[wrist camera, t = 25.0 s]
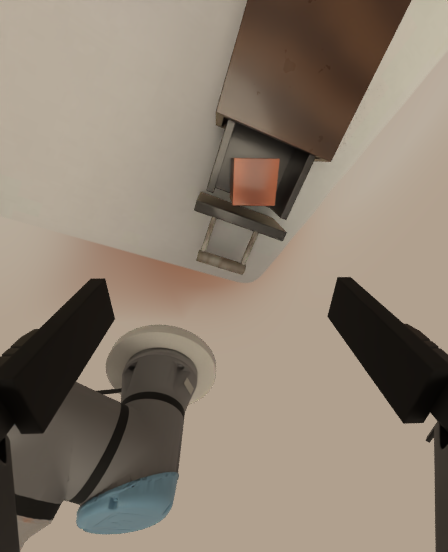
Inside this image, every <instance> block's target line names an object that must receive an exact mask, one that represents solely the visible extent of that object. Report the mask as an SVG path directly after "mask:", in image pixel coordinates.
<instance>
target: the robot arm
mask: <svg viewBox="0 0 448 552" xmlns="http://www.w3.org/2000/svg"><path fill="white" fill-rule="evenodd" d="M328 318H329V319H330V321H331V322H332V323H333V325H334V326H335V328H336V329H337V331H338V332H339V333H340V335H341V336H342V338H343V339H344V340H345V342H346V343H347V345H348V346H349V347H350V349H351V350H352V352H353V353H354V355H355V356H356V357H357V359H358V360H359V362H360V363H361V364H362V366H363V367H364V369H365V370H366V371H367V373H368V374H369V376H370V377H371V378H372V380H373V381H374V383H375V384H376V386H377V387H378V388H379V390H380V391H381V393H382V394H383V395H384V397H385V398H386V400H387V401H388V402H389V404H390V405H391V407H392V408H393V409H394V411H395V412H396V414H397V415H398V416H399V418H400V419H401V421H402V422H403V423H424V421H425V419H426V418H427V416H428V415H429V413H431V414H432V415H433V416H434V417H435V418H436V419H437V423H436V424H435V426H434V427H433V429H432V430H431V432H430V433H429V435H428V436H427V439H426V441H428V442H430V441H431V440H432V438H434V453H435V454H434V455H435V524H436V525H435V528H436V529H435V531H436V552H448V354H446V353H445V352H444V351H443V350H442V349H439V348H438V346H437V345H436V344H435V343H433V342H432V341H430V339H429V338H427V337H426V336H425V335H424V334H423V333H421V332H420V331H419V330H417V329H415V328H413V327H412V326H410V325H408V324H403V323H402V322H401V321H400V320H399V319H397V318H396V317H395V316H394V315H393V314H392V313H391V312H390V311H388V310H387V309H386V308H385V307H384V306H383V305H381V304H380V303H379V302H378V301H377V300H376V299H375V298H373V296H371V295H370V294H369V293H368V292H367V291H365V289H363V288H362V287H361V286H360V285H359V284H358V283H357V282H355V281H354V280H353V279H352V278H351V277H338V278H337V282H336V286H335V289H334V293H333V297H332V301H331V305H330V309H329V313H328ZM114 319H115V318H114V313H113V309H112V305H111V301H110V297H109V293H108V289H107V285H106V281H105V279H90V280H89V281H88V282H87V283H86V284H85V285H84V286H83V287H82V288H81V289H80V290H79V291H78V292H77V293H76V294H75V295H74V296H73V297H72V298H71V299H70V300H69V301H67V302H66V303H65V305H63V306H62V307H61V308H60V309H59V310H58V311H57V312H56V313H55V314H54V315H53V316H52V317H51V318H50V319H49V320H48V321H47V322H46V323H45V324H44V325H43V326H42V327H41V328H40V329H34V330H32V331H31V332H29V333H27V334H26V335H24V336H22V337H21V338H20V339H18V340H17V341H16V342H15V343H14V344H13V345H12V346H11V348H10V349H8V350H7V351H5V352H4V353H3V354H2V357H0V552H20V550H21V548H22V546H23V545H24V543H25V542H26V541H27V540H28V538H29V537H31V536H32V535H34V534H35V533H37V532H38V531H40V530H41V529H43V528H44V527H46V526H47V525H49V524H50V523H51V521H52V520H53V518H54V516H55V514H56V513H57V510H58V509H59V507H60V505H61V503H62V502H63V500H65V501H69V502H73V503H76V504H79V505H80V507H79V509H78V512H77V520H76V521H77V526H78V527H79V528H81V529H83V530H84V531H86V532H90V533H95V534H121V533H128V532H133V531H138V530H142V529H145V528H147V527H150V526H152V525H155V524H156V523H158V522H160V521H161V520H162V519H163V518H165V517H166V515H167V514H168V513H169V511H170V509H171V507H172V504H173V500H174V495H175V490H176V484H177V480H178V477H179V474H178V468H179V458H180V450H181V441H182V432H183V424H184V415H185V411H186V408H187V406H188V404H189V402H190V400H191V398H192V396H193V393H194V391H195V389H196V387H197V378H198V372H197V368H196V366H195V364H194V363H193V362H192V360H191V359H190V358H188V357H187V356H186V355H184V354H183V353H181V352H178V351H176V350H173V349H169V348H159V347H157V348H148V349H145V350H142V351H139V352H137V353H136V354H134V355H133V356H132V357H131V358H130V359H129V360H128V362H127V363H126V366H125V368H124V370H123V373H122V388H119V389H111V390H101V391H94V390H92V389H90V388H88V387H86V386H83V385H82V384H79V383H77V382H76V380H77V379H78V377H79V376H80V374H81V372H82V371H83V369H84V367H85V366H86V364H87V363H88V361H89V360H90V358H91V356H92V355H93V353H94V352H95V350H96V348H97V347H98V345H99V343H100V342H101V340H102V339H103V337H104V335H105V334H106V332H107V330H108V329H109V328H110V326H111V324H112V323H113V321H114ZM112 393H121V403H120V402H118V401H116V400H114V399H111V398H109V397H107V396H105V395H103V394H112Z"/></svg>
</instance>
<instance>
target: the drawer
mask: <svg viewBox="0 0 448 552" xmlns="http://www.w3.org/2000/svg"><path fill="white" fill-rule="evenodd" d="M231 158H276V159H280V161H279V171H278V180H277V189H276V199H275V206H266V207H269V208H270V209H272V210H273V211H274V212H275V213H276V214H277V215H278V216H279V217H280V218H282V219H285V220H286V219H287V217H288V215H289V213H290V211H291V208H292V206H293V204H294V202H295V200H296V198H297V196H298V194H299V191H300V189H301V187H302V185H303V183H304V181H305V179H306V177H307V174H308V172H309V170H310V168H311V166H312V164H313V162H314V160H315V156H313V155H311V154H308V153H306V152H304V151H301V150H299V149H297V148H295V147H292V146H290V145H288V144H285V143H283V142H281V141H278V140H276V139H274V138H271V137H269V136H267V135H265V134H262V133H260V132H258V131H255V130H253V129H251V128H248V127H246V126H244V125H241V124H239V123H237V122H234V121H232V120H230V119H228V121H227V124H226V127H225V131H224V134H223V137H222V140H221V144H220V147H219V150H218V154H217V157H216V160H215V163H214V167H213V170H212V173H211V176H210V180H209V183H208V187H207V191H209V192H212V193H213V192H214V189H215V188H218V189H221V190H223V191H226V192H229V193H230V167H231ZM194 211H197V212H200V213H203V214H206V215H209V216H212V218H211V221H210V224H209V227H208V230H207V233H206V236H205V239H204V242H203V245H202V248H201V250H199V252H198V255H197V259H196V261H199V262H202V263H205V264H209V265H212V266H215V267H218V268H222V269H225V270H228V271H231V272H235V273H238V274H241V275H243V273H244V271H245V268H246V265H245V263H246V261H247V259H248V256H249V254H250V252H251V249H252V247H253V245H254V242H255V240H256V238H257V236H258V233H260V234H263V235H266V236H269V237H272V238H275V239H278V240H280V241H283V240H284V237H285V235H286V233H287V232H286V231H285V230H284V229H283V228H282V227H281V226H280V225H279V224H278V223H277V222H276V221H275V220H274V219H273V218H272V217H269V216H266V215H264V214H261V213H258V212H255V211H253V210H250V209H247V208H244V207H242V206H233V205H232V203H231V202H228V201H225V200H223V199H220V198H217V197H214V196H212V195H209V194H206V193H203V192H200V194H199V197H198V199H197V202H196V205H195V208H194ZM216 218H217V219H220V220H223V221H226V222H229V223H232V224H235V225H237V226H240V227H243V228H246V229H249V230H252V231H254V232H253V234H252V237H251V239H250V241H249V244H248V246H247V248H246V251H245V253H244V256H243V258H242V260H241V263H239V262H236V261H233V260H230V259H227V258H224V257H221V256H217V255H214V254H211V253H208V252H205V251H206V248H207V245H208V242H209V239H210V236H211V233H212V230H213V227H214V224H215V221H216Z"/></svg>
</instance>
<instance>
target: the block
mask: <svg viewBox="0 0 448 552" xmlns="http://www.w3.org/2000/svg"><path fill="white" fill-rule="evenodd" d="M279 161H280V159H276V158H231V167H230V199H231V202H232V205H233V206H275V199H276V189H277V180H278V171H279Z"/></svg>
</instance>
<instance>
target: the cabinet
mask: <svg viewBox="0 0 448 552" xmlns="http://www.w3.org/2000/svg"><path fill="white" fill-rule="evenodd" d="M410 2H411V0H247V4H246V7H245V11H244V15H243V18H242V22H241V25H240V29H239V32H238V36H237V39H236V43H235V46H234V50H233V53H232V57H231V60H230V64H229V67H228V71H227V75H226V78H225V82H224V85H223V89H222V92H221V96H220V99H219V103H218V106H217V110H216V125H217V126H219V127H222V128H224V129H225V127H226V124H227V121H228V119H230V120H232V121H234V122H237V123H239V124H241V125H244V126H246V127H248V128H251V129H253V130H255V131H258V132H260V133H262V134H265V135H267V136H269V137H271V138H274V139H276V140H278V141H281V142H283V143H285V144H288V145H290V146H292V147H295V148H297V149H299V150H301V151H304V152H306V153H308V154H311V155H313V156H315V160H314V161H321V162H331V160H332V158H333V156H334V154H335V152H336V150H337V148H338V146H339V144H340V142H341V140H342V138H343V136H344V134H345V132H346V130H347V128H348V126H349V124H350V122H351V120H352V118H353V116H354V114H355V112H356V110H357V108H358V106H359V104H360V102H361V100H362V98H363V96H364V94H365V92H366V90H367V88H368V86H369V84H370V82H371V80H372V78H373V76H374V74H375V72H376V70H377V68H378V66H379V64H380V62H381V60H382V58H383V56H384V54H385V52H386V50H387V48H388V46H389V44H390V42H391V40H392V38H393V36H394V34H395V32H396V30H397V28H398V26H399V24H400V22H401V20H402V18H403V16H404V14H405V12H406V10H407V8H408V6H409V4H410Z"/></svg>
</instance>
